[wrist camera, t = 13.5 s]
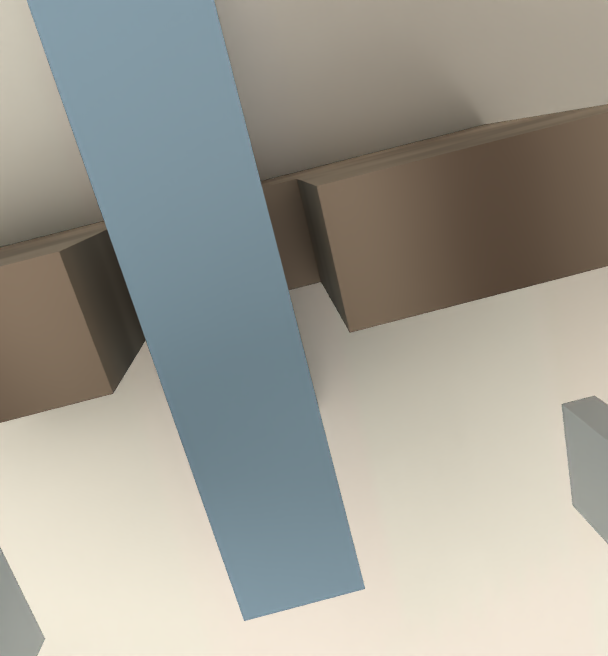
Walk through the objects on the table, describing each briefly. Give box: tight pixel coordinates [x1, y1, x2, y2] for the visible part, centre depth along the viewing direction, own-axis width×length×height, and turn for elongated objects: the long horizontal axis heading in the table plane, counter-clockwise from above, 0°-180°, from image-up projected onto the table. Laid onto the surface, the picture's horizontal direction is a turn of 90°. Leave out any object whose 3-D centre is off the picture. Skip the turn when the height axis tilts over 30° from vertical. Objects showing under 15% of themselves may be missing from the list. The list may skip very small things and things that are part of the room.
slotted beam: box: [0, 104, 608, 423], centre depth 15 cm, size 20×3×10 cm, turn 104°
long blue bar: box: [27, 0, 365, 621], centre depth 15 cm, size 3×16×10 cm, turn 14°
